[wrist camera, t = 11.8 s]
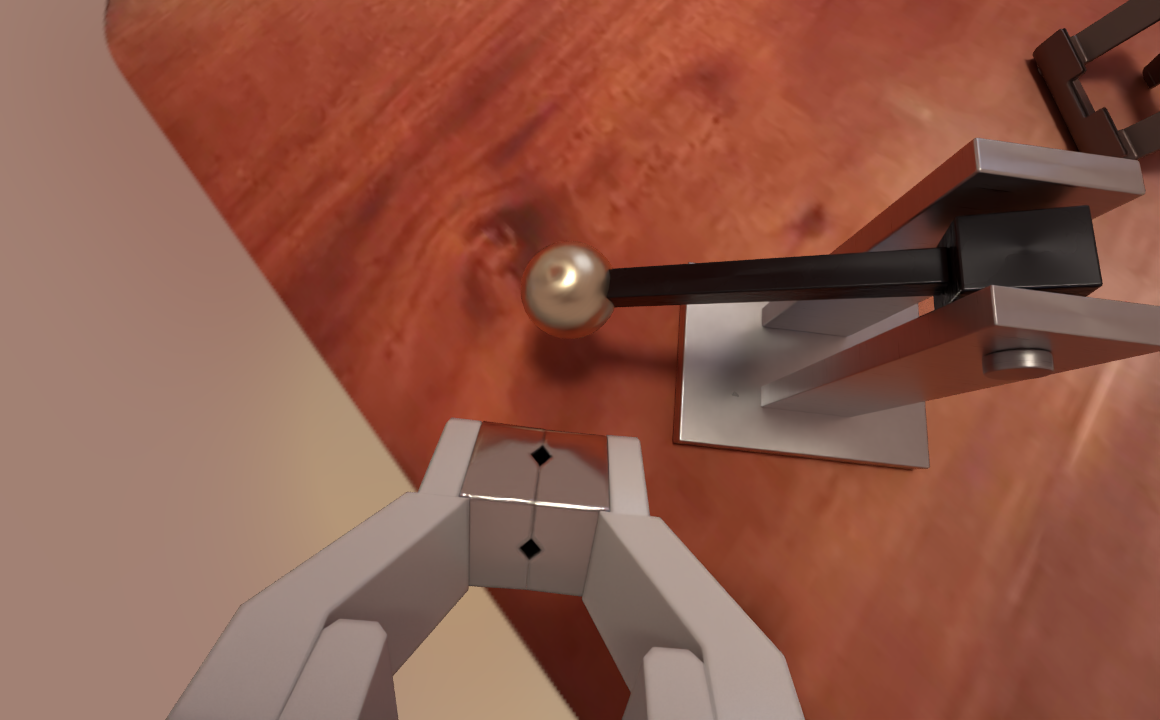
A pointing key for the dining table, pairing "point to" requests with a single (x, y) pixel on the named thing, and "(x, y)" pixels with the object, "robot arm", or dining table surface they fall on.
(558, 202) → the dining table surface
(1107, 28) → the tablet stand
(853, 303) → the metal stand
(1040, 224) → the lever
